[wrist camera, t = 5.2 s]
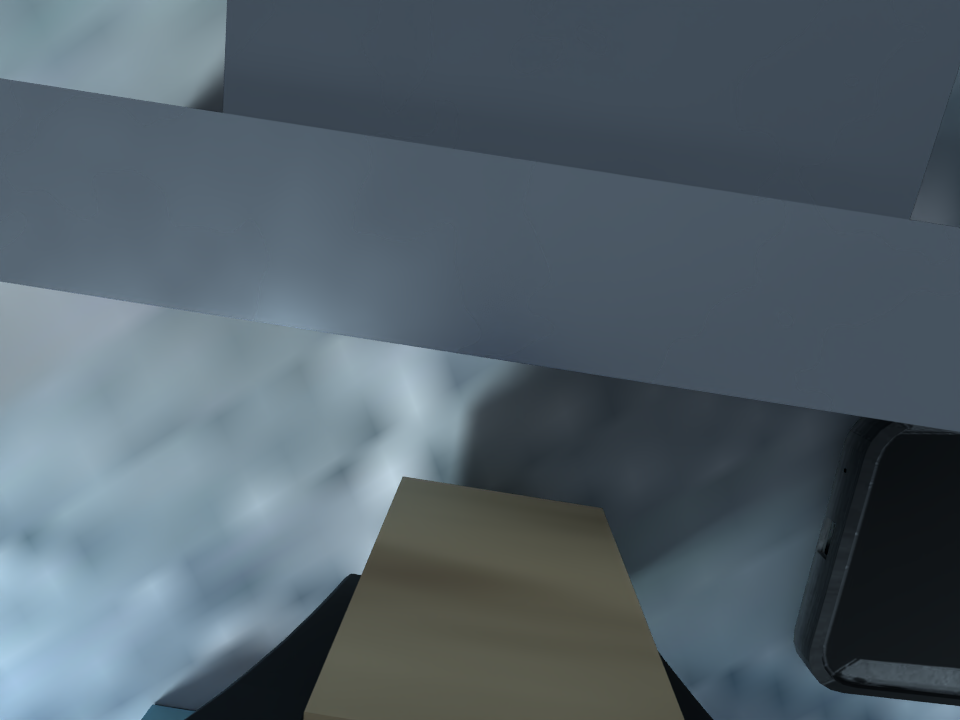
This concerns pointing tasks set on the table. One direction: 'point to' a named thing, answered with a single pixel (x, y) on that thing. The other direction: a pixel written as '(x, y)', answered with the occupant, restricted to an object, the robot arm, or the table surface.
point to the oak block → (492, 617)
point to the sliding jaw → (166, 713)
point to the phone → (888, 568)
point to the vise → (535, 190)
